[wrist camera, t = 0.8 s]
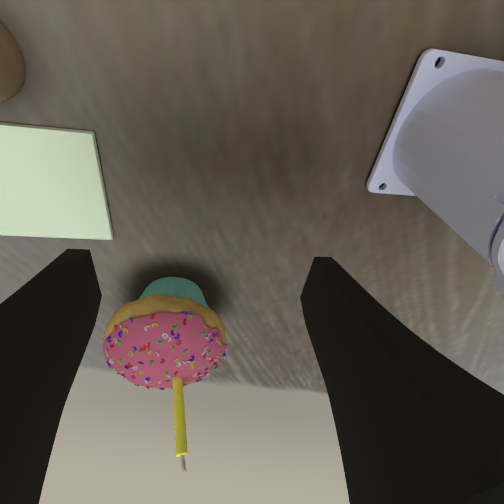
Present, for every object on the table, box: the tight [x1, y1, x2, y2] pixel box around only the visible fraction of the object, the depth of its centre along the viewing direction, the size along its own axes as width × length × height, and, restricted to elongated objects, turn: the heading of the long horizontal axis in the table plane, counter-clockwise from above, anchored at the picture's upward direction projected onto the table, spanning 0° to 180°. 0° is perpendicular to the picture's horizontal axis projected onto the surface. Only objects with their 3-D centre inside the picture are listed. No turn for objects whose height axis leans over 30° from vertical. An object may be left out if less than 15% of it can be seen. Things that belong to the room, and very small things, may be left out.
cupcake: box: [103, 277, 227, 472], centre depth 20 cm, size 9×8×12 cm
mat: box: [0, 122, 114, 240], centre depth 17 cm, size 9×7×1 cm
